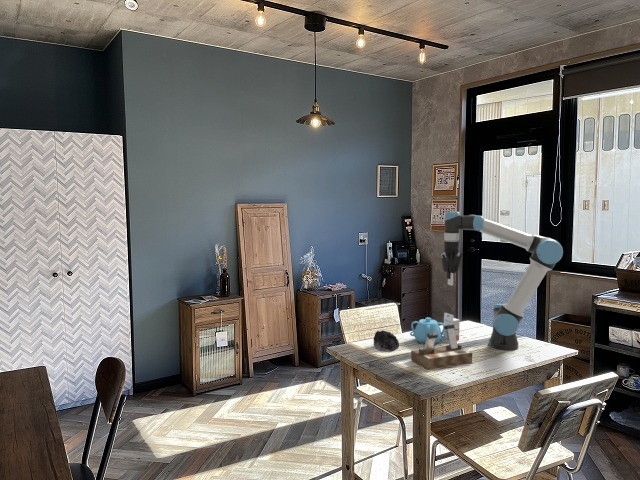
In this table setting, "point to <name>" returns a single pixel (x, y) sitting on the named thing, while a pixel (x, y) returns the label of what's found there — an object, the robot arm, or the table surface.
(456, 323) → the ink cartridge box
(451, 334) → the lever
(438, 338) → the decorative pot
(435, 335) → the lever
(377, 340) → the black rock
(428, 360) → the switch unit
